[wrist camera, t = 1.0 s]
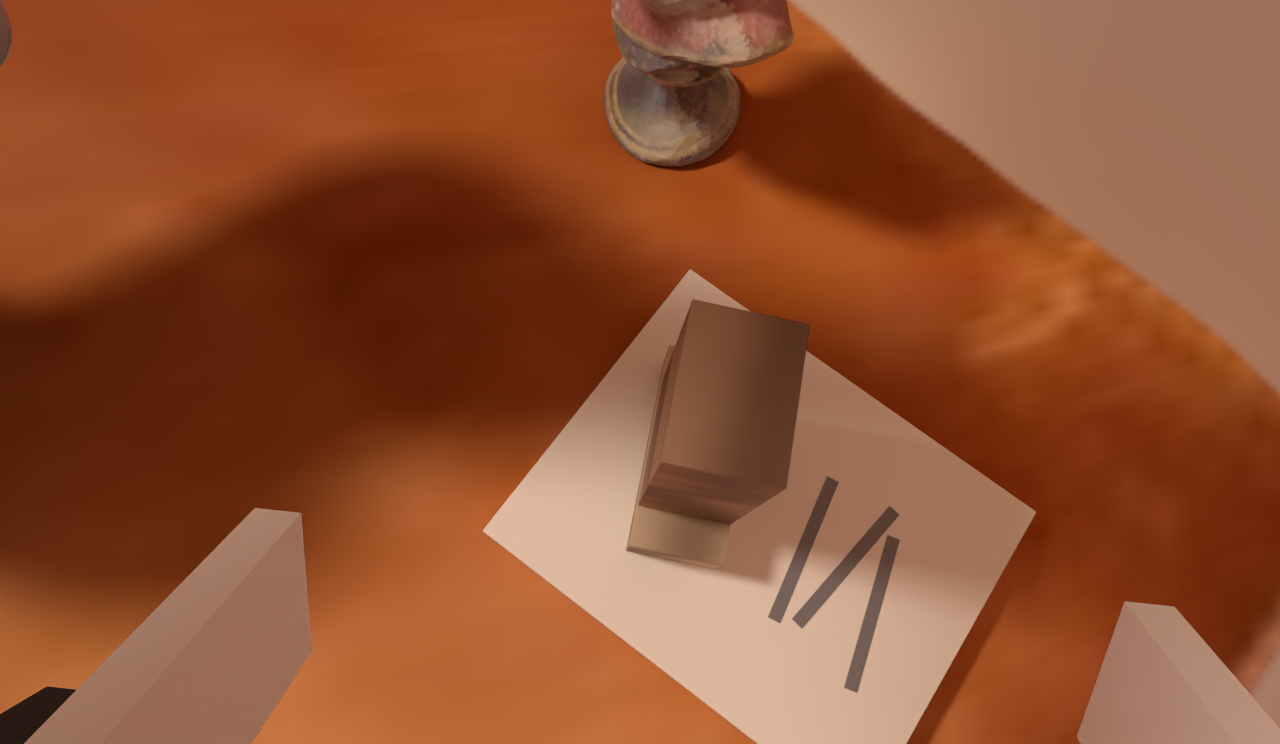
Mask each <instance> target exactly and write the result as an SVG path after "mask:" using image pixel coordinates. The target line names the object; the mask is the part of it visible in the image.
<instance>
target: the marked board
mask: <svg viewBox="0 0 1280 744" xmlns="http://www.w3.org/2000/svg"><path fill="white" fill-rule="evenodd" d="M692 299H695V300H699V301H704V302H709V303H713V304H718V305H722V306H727V307H732V308H736V309H741V310H746V311H749V310H748V309H746V308H745V307H744V306H742V305H741V304H739V303H738V302H736V301H735V300H734V299H732V298H731V297H729V296H728V295H726V294H725V293H724V292H722V291H721V290H719V289H718V288H716V287H715V286H714V285H712V284H711V283H709V282H708V281H706V280H705V279H704V278H702V277H701V276H699V275H698V274H697V273H695V272H694V271H692V270H691V269H690V270H689V271H688V272H687V273H686V275H685V276H684V277H683V278H682V280H681V281H680V282H679V284H678V285H677V286H676V287H675V289H674V290H673V291H672V292H671V294H670V295H669V296H668V297H667V299H666V300H665V301H664V302H663V304H662V305H661V306H660V308H659V309H658V310H657V311H656V313H655V314H654V315H653V316H652V318H651V319H650V320H649V321H648V323H647V324H646V325H645V326H644V328H643V329H642V330H641V331H640V333H639V334H638V335H637V337H636V338H635V339H634V340H633V342H632V343H631V344H630V345H629V347H628V348H627V349H626V350H625V352H624V353H623V354H622V355H621V357H620V358H619V359H618V361H617V362H616V363H615V364H614V366H613V367H612V368H611V369H610V371H609V372H608V373H607V374H606V376H605V377H604V378H603V379H602V381H601V382H600V383H599V384H598V386H597V387H596V388H595V390H594V391H593V392H592V393H591V395H590V396H589V397H588V398H587V400H586V401H585V402H584V403H583V405H582V406H581V407H580V408H579V410H578V411H577V412H576V414H575V415H574V416H573V417H572V419H571V420H570V421H569V422H568V424H567V425H566V426H565V427H564V429H563V430H562V431H561V432H560V434H559V435H558V436H557V437H556V439H555V440H554V441H553V443H552V444H551V445H550V446H549V448H548V449H547V450H546V451H545V453H544V454H543V455H542V456H541V458H540V459H539V460H538V461H537V463H536V464H535V465H534V467H533V468H532V469H531V470H530V472H529V473H528V474H527V475H526V477H525V478H524V479H523V480H522V482H521V483H520V484H519V485H518V487H517V488H516V489H515V490H514V492H513V493H512V494H511V496H510V497H509V498H508V499H507V501H506V502H505V503H504V504H503V506H502V507H501V508H500V509H499V511H498V512H497V513H496V514H495V516H494V517H493V518H492V520H491V521H490V522H489V523H488V525H487V526H486V527H485V528H484V530H483V532H484V533H485V534H486V535H488V536H489V537H490V538H491V539H493V540H494V541H495V542H497V543H498V544H499V545H501V546H502V547H503V548H504V549H506V550H507V551H508V552H510V553H511V554H512V555H513V556H515V557H516V558H517V559H519V560H520V561H521V562H522V563H524V564H525V565H526V566H528V567H529V568H530V569H532V570H533V571H534V572H535V573H537V574H538V575H539V576H541V577H542V578H543V579H544V580H546V581H547V582H548V583H550V584H551V585H552V586H554V587H555V588H556V589H557V590H559V591H560V592H561V593H563V594H564V595H565V596H566V597H568V598H569V599H570V600H572V601H573V602H574V603H576V604H577V605H578V606H579V607H581V608H582V609H583V610H585V611H586V612H587V613H588V614H590V615H591V616H592V617H594V618H595V619H596V620H597V621H599V622H600V623H601V624H603V625H604V626H605V627H607V628H608V629H609V630H610V631H612V632H613V633H614V634H616V635H617V636H618V637H619V638H621V639H622V640H623V641H625V642H626V643H627V644H629V645H630V646H631V647H632V648H634V649H635V650H636V651H638V652H639V653H640V654H641V655H643V656H644V657H645V658H647V659H648V660H649V661H651V662H652V663H653V664H654V665H656V666H657V667H658V668H660V669H661V670H662V671H663V672H665V673H666V674H667V675H669V676H670V677H671V678H673V679H674V680H675V681H676V682H678V683H679V684H680V685H682V686H683V687H684V688H685V689H687V690H688V691H689V692H691V693H692V694H693V695H694V696H696V697H697V698H698V699H700V700H701V701H702V702H704V703H705V704H706V705H707V706H709V707H710V708H711V709H713V710H714V711H715V712H716V713H718V714H719V715H720V716H722V717H723V718H724V719H726V720H727V721H728V722H729V723H731V724H732V725H733V726H735V727H736V728H737V729H738V730H740V731H741V732H742V733H744V734H745V735H746V736H748V737H749V738H750V739H751V740H753V741H754V742H755V743H757V744H906V743H907V742H908V740H909V738H910V736H911V734H912V733H913V731H914V729H915V727H916V726H917V724H918V722H919V720H920V718H921V717H922V715H923V713H924V711H925V709H926V708H927V706H928V704H929V702H930V701H931V699H932V697H933V695H934V693H935V692H936V690H937V688H938V686H939V685H940V683H941V681H942V679H943V677H944V676H945V674H946V672H947V670H948V669H949V667H950V665H951V663H952V661H953V660H954V658H955V656H956V654H957V652H958V651H959V649H960V647H961V645H962V644H963V642H964V640H965V638H966V636H967V635H968V633H969V631H970V629H971V628H972V626H973V624H974V622H975V620H976V619H977V617H978V615H979V613H980V612H981V610H982V608H983V606H984V604H985V603H986V601H987V599H988V597H989V595H990V594H991V592H992V590H993V588H994V587H995V585H996V583H997V581H998V579H999V578H1000V576H1001V574H1002V572H1003V571H1004V569H1005V567H1006V565H1007V563H1008V562H1009V560H1010V558H1011V556H1012V555H1013V553H1014V551H1015V549H1016V547H1017V546H1018V544H1019V542H1020V540H1021V538H1022V537H1023V535H1024V533H1025V531H1026V530H1027V528H1028V526H1029V524H1030V522H1031V521H1032V519H1033V517H1034V515H1035V514H1036V511H1034V510H1033V509H1031V508H1030V507H1029V506H1027V505H1026V504H1024V503H1023V502H1021V501H1020V500H1019V499H1017V498H1016V497H1014V496H1013V495H1012V494H1010V493H1009V492H1007V491H1006V490H1004V489H1003V488H1002V487H1000V486H999V485H997V484H996V483H994V482H993V481H992V480H990V479H989V478H987V477H986V476H984V475H983V474H982V473H980V472H979V471H977V470H976V469H974V468H973V467H972V466H970V465H969V464H967V463H966V462H964V461H963V460H962V459H960V458H959V457H957V456H956V455H954V454H953V453H952V452H950V451H949V450H947V449H946V448H945V447H943V446H942V445H940V444H939V443H937V442H936V441H935V440H933V439H932V438H930V437H929V436H927V435H926V434H925V433H923V432H922V431H920V430H919V429H917V428H916V427H915V426H913V425H912V424H910V423H909V422H907V421H906V420H905V419H903V418H902V417H900V416H899V415H897V414H896V413H895V412H893V411H892V410H890V409H889V408H888V407H886V406H885V405H883V404H882V403H880V402H879V401H878V400H876V399H875V398H873V397H872V396H870V395H869V394H868V393H866V392H865V391H863V390H862V389H860V388H859V387H858V386H856V385H855V384H853V383H852V382H850V381H849V380H848V379H846V378H845V377H843V376H842V375H840V374H839V373H838V372H836V371H835V370H833V369H832V368H830V367H829V366H828V365H826V364H825V363H823V362H822V361H821V360H819V359H818V358H816V357H815V356H813V355H812V354H811V353H809V352H808V351H806V355H805V362H804V369H803V376H802V383H801V390H800V397H799V404H798V411H797V418H796V425H795V432H794V439H793V446H792V453H791V460H790V467H789V474H788V481H787V488H786V489H785V490H783V491H782V492H780V493H779V494H777V495H776V496H774V497H772V498H771V499H769V500H768V501H766V502H765V503H763V504H762V505H760V506H758V507H757V508H755V509H754V510H752V511H751V512H749V513H748V514H746V515H745V516H743V517H741V518H740V519H738V520H737V521H735V522H734V523H732V524H731V525H730V530H729V536H728V542H727V548H726V554H725V561H724V565H723V566H720V567H718V568H715V569H711V568H706V567H701V566H696V565H691V564H687V563H682V562H677V561H672V560H668V559H663V558H658V557H653V556H649V555H644V554H639V553H634V552H629V551H626V547H627V542H628V537H629V532H630V527H631V522H632V517H633V512H634V507H635V502H636V497H637V492H638V487H639V482H640V477H641V472H642V467H643V462H644V457H645V452H646V447H647V442H648V437H649V432H650V427H651V422H652V417H653V412H654V407H655V402H656V397H657V392H658V386H659V381H660V376H661V371H662V366H663V362H664V359H665V356H666V353H667V350H668V347H669V345H671V346H675V345H676V342H677V340H678V337H679V334H680V332H681V329H682V326H683V324H684V321H685V318H686V315H687V313H688V310H689V307H690V305H691V302H692ZM750 312H751V311H750Z"/></svg>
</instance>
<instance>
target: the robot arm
mask: <svg viewBox="0 0 1280 744" xmlns="http://www.w3.org/2000/svg"><path fill="white" fill-rule="evenodd" d="M11 43H12V31H11V25H10V22H9V18H8V15H7V13H6V10H5V8H4V6H3V3H2V1H1V0H0V66H1V65H2V64H3V62H4V61H5V60H6V57H7V54H8V51H9V49H10V46H11ZM311 651H312V644H311V631H310V618H309V605H308V593H307V580H306V567H305V554H304V541H303V528H302V515H301V513H298V512H288V511H279V510H270V509H261V508H254V509H253V510H252V511H251V512H250V513H249V514H248V515H247V516H246V517H245V518H244V519H243V520H242V522H241V523H240V524H239V525H238V526H237V527H236V528H235V529H234V530H233V531H232V532H231V533H230V534H229V535H228V536H227V537H226V538H225V539H224V540H223V541H222V542H221V543H220V544H219V545H218V546H217V547H216V548H215V549H214V550H213V551H212V552H211V553H210V554H209V555H208V556H207V557H206V558H205V559H204V560H203V561H202V562H201V563H200V564H199V565H198V566H197V567H196V568H195V570H194V571H193V572H192V573H191V574H190V575H189V576H188V577H187V578H186V579H185V580H184V581H183V582H182V583H181V584H180V585H179V586H178V587H177V588H176V589H175V590H174V591H173V592H172V593H171V594H170V595H169V596H168V597H167V598H166V599H165V600H164V601H163V602H162V603H161V604H160V605H159V606H158V607H157V608H156V609H155V610H154V611H153V612H152V613H151V614H150V615H149V616H148V617H147V619H146V620H145V621H144V622H143V623H142V624H141V625H140V626H139V627H138V628H137V629H136V630H135V631H134V632H133V633H132V634H131V635H130V636H129V637H128V638H127V639H126V640H125V641H124V642H123V643H122V644H121V645H120V646H119V647H118V648H117V649H116V650H115V651H114V652H113V653H112V654H111V655H110V656H109V657H108V658H107V659H106V660H105V661H104V662H103V663H102V664H101V665H100V667H99V668H98V669H97V670H96V671H95V672H94V673H93V674H92V675H91V676H90V677H89V678H88V679H87V680H86V681H85V682H84V683H83V684H82V685H81V686H80V687H79V688H78V689H77V690H73V689H64V688H56V687H45V688H44V689H42V690H40V691H39V692H37V693H35V694H34V695H32V696H30V697H28V698H27V699H25V700H23V701H22V702H20V703H18V704H17V705H15V706H13V707H12V708H10V709H8V710H7V711H5V712H3V713H2V714H0V744H252V742H253V741H254V739H255V738H256V736H257V734H258V733H259V731H260V730H261V728H262V727H263V725H264V724H265V722H266V721H267V719H268V718H269V716H270V714H271V713H272V711H273V710H274V708H275V707H276V705H277V704H278V702H279V701H280V699H281V697H282V696H283V694H284V693H285V691H286V690H287V688H288V687H289V685H290V684H291V682H292V681H293V679H294V677H295V676H296V674H297V673H298V671H299V670H300V668H301V667H302V665H303V664H304V662H305V660H306V659H307V657H308V656H309V654H310V653H311ZM1077 738H1078V740H1079V742H1080V744H1280V728H1279V727H1278V726H1277V725H1276V724H1275V722H1274V721H1273V720H1272V719H1271V718H1270V717H1269V715H1268V714H1267V713H1266V712H1265V711H1264V710H1263V709H1262V707H1261V706H1260V705H1259V704H1258V703H1257V701H1256V700H1255V699H1254V698H1253V697H1252V696H1251V695H1250V693H1249V692H1248V691H1247V690H1246V689H1245V688H1244V686H1243V685H1242V684H1241V683H1240V682H1239V681H1238V679H1237V678H1236V677H1235V676H1234V675H1233V674H1232V673H1231V671H1230V670H1229V669H1228V668H1227V667H1226V666H1225V664H1224V663H1223V662H1222V661H1221V660H1220V659H1219V657H1218V656H1217V655H1216V654H1215V653H1214V652H1213V651H1212V649H1211V648H1210V647H1209V646H1208V645H1207V644H1206V642H1205V641H1204V640H1203V639H1202V638H1201V637H1200V636H1199V634H1198V633H1197V632H1196V631H1195V630H1194V629H1193V627H1192V626H1191V625H1190V624H1189V623H1188V622H1187V620H1186V619H1185V618H1184V617H1183V616H1182V615H1181V614H1180V612H1179V611H1178V610H1177V609H1176V608H1175V607H1174V606H1164V605H1155V604H1146V603H1136V602H1127V601H1125V602H1124V605H1123V608H1122V611H1121V613H1120V616H1119V619H1118V622H1117V625H1116V627H1115V630H1114V633H1113V636H1112V639H1111V641H1110V644H1109V647H1108V650H1107V653H1106V655H1105V658H1104V661H1103V664H1102V667H1101V669H1100V672H1099V675H1098V678H1097V681H1096V683H1095V686H1094V689H1093V692H1092V695H1091V697H1090V700H1089V703H1088V706H1087V709H1086V712H1085V714H1084V717H1083V720H1082V723H1081V726H1080V728H1079V731H1078V734H1077Z"/></svg>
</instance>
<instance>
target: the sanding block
mask: <svg viewBox="0 0 1280 744" xmlns="http://www.w3.org/2000/svg"><path fill="white" fill-rule="evenodd" d="M809 327H810V324H806V323H801V322H797V321H792V320H787V319H783V318H778V317H773V316H769V315H764V314H760V313H755V312H750V311H746V310H741V309H736V308H732V307H727V306H722V305H718V304H713V303H709V302H704V301H699V300H695V299H692V302H691V305H690V307H689V310H688V313H687V315H686V318H685V321H684V324H683V326H682V329H681V332H680V334H679V337H678V340H677V342H676V345H675V346H671V345H669V347H668V350H667V353H666V356H665V359H664V362H663V366H662V371H661V376H660V381H659V386H658V392H657V397H656V402H655V407H654V412H653V417H652V422H651V427H650V432H649V437H648V442H647V447H646V452H645V457H644V462H643V467H642V472H641V477H640V482H639V487H638V492H637V497H636V502H635V507H634V512H633V517H632V522H631V527H630V532H629V537H628V542H627V547H626V551H629V552H634V553H639V554H644V555H649V556H653V557H658V558H663V559H668V560H672V561H677V562H682V563H687V564H691V565H696V566H701V567H706V568H711V569H715V568H718V567H720V566H723V565H724V561H725V554H726V548H727V542H728V536H729V530H730V525H731V524H732V523H734V522H735V521H737V520H738V519H740V518H741V517H743V516H745V515H746V514H748V513H749V512H751V511H752V510H754V509H755V508H757V507H758V506H760V505H762V504H763V503H765V502H766V501H768V500H769V499H771V498H772V497H774V496H776V495H777V494H779V493H780V492H782V491H783V490H785V489H786V488H787V481H788V474H789V467H790V460H791V453H792V446H793V439H794V432H795V425H796V418H797V411H798V404H799V397H800V390H801V383H802V376H803V369H804V362H805V355H806V348H807V341H808V334H809Z"/></svg>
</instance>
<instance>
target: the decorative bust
mask: <svg viewBox="0 0 1280 744" xmlns="http://www.w3.org/2000/svg"><path fill="white" fill-rule="evenodd" d="M611 10H612V19H613V24H614V30H615V37H616V40H617V43H618V46H619V48H620V51H621V53H622V55H623V58H622V59H621V60H620V61H619V62H618V63H617V64H616V65H615V66H614V67H613V69H612V71H611V72H610V74H609V77H608V80H607V83H606V87H605V98H604V104H605V112H606V117H607V120H608V123H609V126H610V129H611V131H612V132H613V134H614V136H615V137H616V139H617V140H618V142H619V144H620V145H621V146H622V147H623V148H624V149H625V150H626V151H627V152H629V153H630V154H632V155H633V156H634V157H636V158H638V159H639V160H641V161H643V162H645V163H650V164H655V165H660V166H685V165H689V164H692V163H695V162H698V161H702V160H704V159H706V158H708V157H710V156H711V155H712V154H713V153H714V152H716V151H717V150H718V149H719V148H721V147H722V145H723V144H724V143H725V142H726V140H727V139H728V138H729V136H730V135H731V134H732V132H733V131H734V128H735V126H736V123H737V121H738V118H739V113H740V89H739V86H738V84H737V82H736V80H735V78H734V76H733V75H732V73H731V71H730V70H729V69H728V68H730V67H740V66H745V65H750V64H754V63H757V62H759V61H761V60H764V59H766V58H769V57H771V56H773V55H776V54H778V53H780V52H782V51H784V50H785V49H787V48H788V47H789V46H790V45H791V44H792V41H793V36H794V34H793V31H792V27H791V22H790V18H789V12H788V7H787V2H786V0H611Z"/></svg>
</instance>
